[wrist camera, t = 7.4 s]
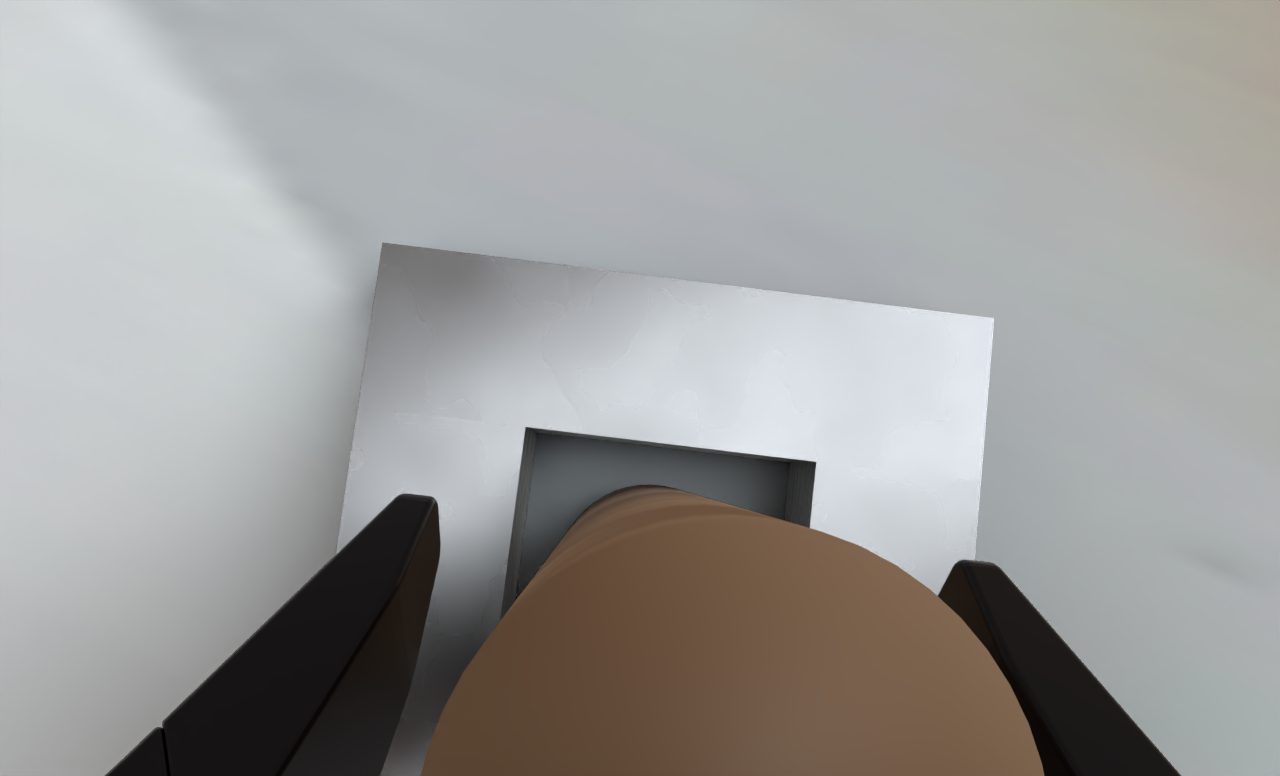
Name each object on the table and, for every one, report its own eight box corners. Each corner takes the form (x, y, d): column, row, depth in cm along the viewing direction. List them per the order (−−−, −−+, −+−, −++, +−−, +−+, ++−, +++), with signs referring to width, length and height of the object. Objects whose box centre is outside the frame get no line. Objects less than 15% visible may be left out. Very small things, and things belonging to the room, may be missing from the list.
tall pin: (679, 708, 19) (851, 1329, 5) (520, 608, 19) (282, 963, 5) (774, 546, 19) (1166, 733, 6) (619, 450, 19) (632, 401, 6)
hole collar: (897, 896, 18) (942, 963, 16) (330, 832, 18) (284, 890, 16) (945, 337, 19) (994, 318, 17) (412, 271, 19) (382, 242, 17)
